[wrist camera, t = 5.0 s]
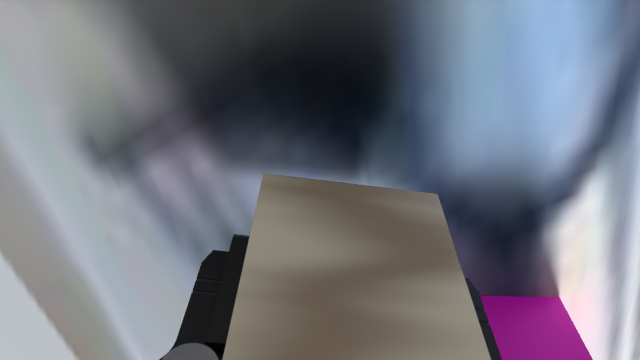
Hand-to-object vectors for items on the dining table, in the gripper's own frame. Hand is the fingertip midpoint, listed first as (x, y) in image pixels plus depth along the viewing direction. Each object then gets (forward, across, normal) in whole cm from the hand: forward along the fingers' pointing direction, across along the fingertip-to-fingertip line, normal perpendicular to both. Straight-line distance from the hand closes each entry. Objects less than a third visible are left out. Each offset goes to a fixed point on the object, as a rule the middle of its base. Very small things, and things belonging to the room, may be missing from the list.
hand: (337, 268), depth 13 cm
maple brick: (+1, 0, 0) cm, 1 cm away
